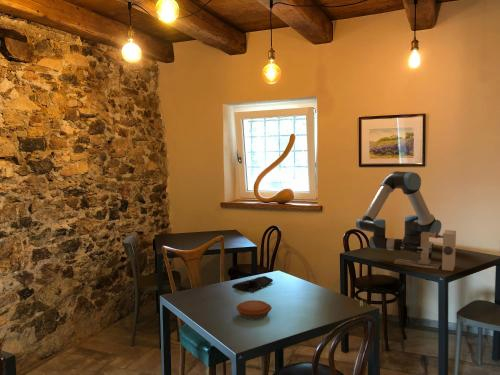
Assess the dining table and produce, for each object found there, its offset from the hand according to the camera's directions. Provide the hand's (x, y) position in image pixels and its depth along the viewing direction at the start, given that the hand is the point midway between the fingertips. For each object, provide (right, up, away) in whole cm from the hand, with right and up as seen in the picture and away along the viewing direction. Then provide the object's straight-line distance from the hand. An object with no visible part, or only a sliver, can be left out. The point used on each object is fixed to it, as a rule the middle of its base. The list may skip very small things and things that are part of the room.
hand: (430, 248), depth 269 cm
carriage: (-1, -9, +2) cm, 10 cm away
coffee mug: (+4, -9, +22) cm, 24 cm away
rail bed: (-6, -11, +5) cm, 13 cm away
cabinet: (+9, -11, -4) cm, 15 cm away
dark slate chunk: (-109, -16, -36) cm, 116 cm away
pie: (-109, -19, -77) cm, 135 cm away
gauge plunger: (+7, +6, -4) cm, 10 cm away
